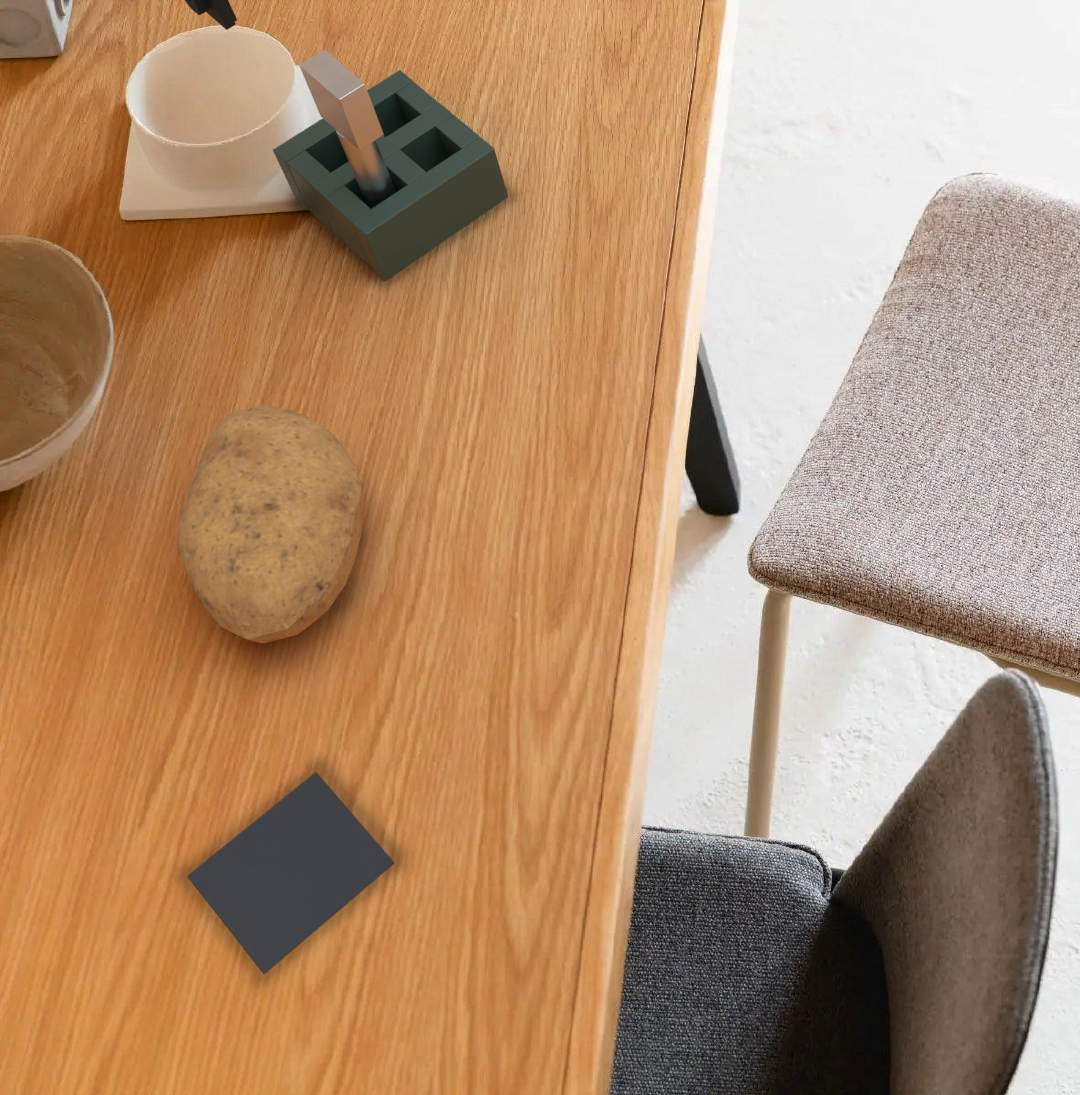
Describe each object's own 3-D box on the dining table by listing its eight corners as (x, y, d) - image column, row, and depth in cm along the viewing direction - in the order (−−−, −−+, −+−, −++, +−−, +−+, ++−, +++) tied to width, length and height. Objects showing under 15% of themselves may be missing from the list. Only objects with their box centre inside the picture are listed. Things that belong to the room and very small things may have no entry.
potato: (200, 686, 81) (138, 621, 74) (222, 472, 87) (167, 394, 80) (378, 666, 81) (334, 600, 74) (386, 455, 88) (346, 376, 81)
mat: (190, 879, 75) (186, 876, 75) (319, 775, 78) (315, 771, 77) (268, 977, 73) (263, 974, 72) (397, 866, 75) (394, 862, 75)
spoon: (366, 230, 97) (297, 65, 84) (391, 213, 97) (325, 48, 85) (403, 263, 95) (337, 100, 83) (427, 246, 96) (366, 82, 84)
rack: (297, 203, 98) (272, 149, 93) (419, 125, 101) (399, 69, 97) (387, 287, 94) (365, 234, 90) (510, 202, 98) (494, 148, 93)
